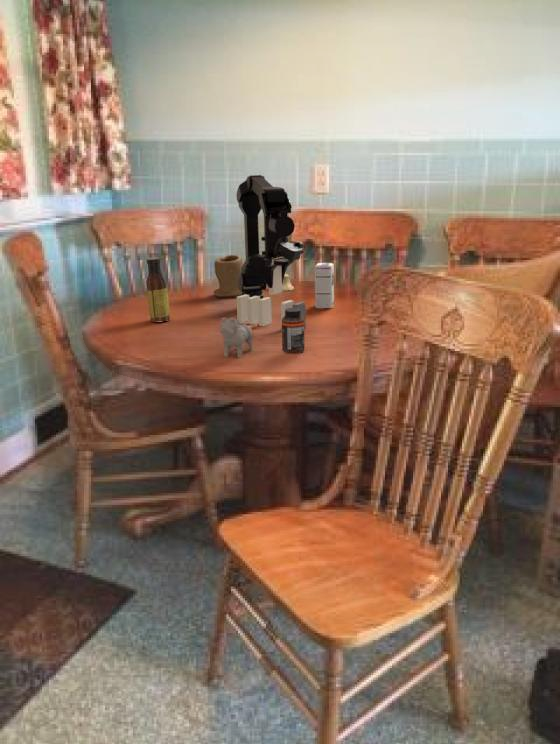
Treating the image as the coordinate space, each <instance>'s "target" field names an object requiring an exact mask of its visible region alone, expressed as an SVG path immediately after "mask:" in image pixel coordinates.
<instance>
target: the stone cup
mask: <svg viewBox="0 0 560 744" xmlns="http://www.w3.org/2000/svg"><path fill="white" fill-rule="evenodd" d="M243 264H244V261H243V258H242V257H241V256H240V255H238V254H228V255H226V256H219V257H218V258H216V259H215V260H214V264H213V265H214V273H215V276H216V280H217V281H218V285H219V288H216V289H214V290H213V295H214V296H216V297H219V298H220V297H222V298H223V297H224V298H225V297H227V298H228V297H238V296H242V292H241V291H240V290H239V289H238V281H239V277H240V274H241V268H242V266H243ZM244 287H245V286H244Z"/></svg>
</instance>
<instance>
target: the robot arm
mask: <svg viewBox="0 0 560 744" xmlns="http://www.w3.org/2000/svg"><path fill="white" fill-rule="evenodd" d="M236 201H237V203H238V208H239V210H240V211H241V212H242V215H243V221H244V223H243V224H244V246H245V247H244V249H245V252H244V254H245V260H244V261H243V266H242V268H241V274H240V277H239V281H238V289H239V290H240V291H241V292H242V295H245V294H246V295H249V297H254V296H260V299H263V298H264V294H263V291H266V290H267V288H268V289H269V288H272V287H273V272H274V269H275V268H276V267H277V265H281V266H282V282H283V279H284V276H285V273H286V272H287V269H288V267H289V266H290V265H291V264H293V263H294V261H299V260H300V259H301V255H303V254H305V252H304V250H305V249H304V243H303V242H301V241H296V242H294V243H293V242H292V243H290V242H289V239H288V237H289V236H291V235H292V234H293V232H294V231H295V227H296V226H295V225H296V224H295V222H294V220H293V219H292V217H290V216H288V215H289V214H291V213H292V208H293V206H292V204H291V201H290V198H289V196H288V193H287V192H286V190H285V188H283V187H280V186H273V185H272V184H271V183H269V182H268V180H266V178H265V176H264V175H262V174H256V175H252V174H251V175H248V176H247V177H246V180H244V181H243V182H241V183H240V184H239V185H238V187H237V190H236ZM261 210H262V214H263V226H264V227H263V230H264V231H263V232H264V234H263V235H264V236H262V237H260V234H259V233H260V232H259V231H260V229H259V214H260V212H261ZM260 238H261V241H263V242H264V250H263V251H261V254H260ZM244 286H245V287H244Z"/></svg>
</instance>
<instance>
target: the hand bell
mask: <svg viewBox="0 0 560 744" xmlns="http://www.w3.org/2000/svg"><path fill="white" fill-rule="evenodd" d="M288 290H289V291H294V290H295V287H294V286H293V284H292V283H291V281H290V275H289V274H287V273H286V272H285V276H284V279H283V282H282V292H289V291H288Z"/></svg>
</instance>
